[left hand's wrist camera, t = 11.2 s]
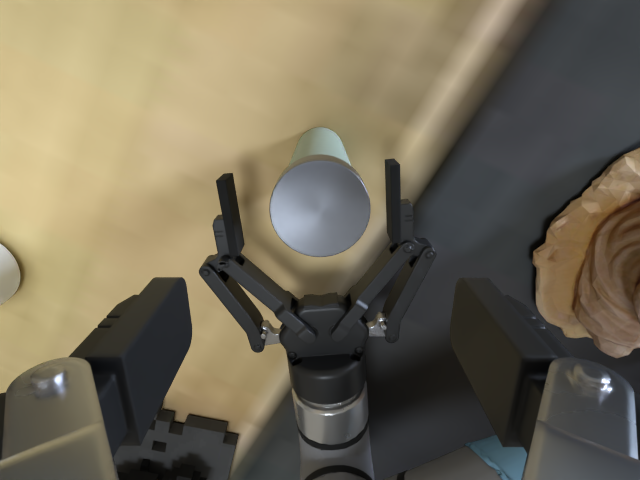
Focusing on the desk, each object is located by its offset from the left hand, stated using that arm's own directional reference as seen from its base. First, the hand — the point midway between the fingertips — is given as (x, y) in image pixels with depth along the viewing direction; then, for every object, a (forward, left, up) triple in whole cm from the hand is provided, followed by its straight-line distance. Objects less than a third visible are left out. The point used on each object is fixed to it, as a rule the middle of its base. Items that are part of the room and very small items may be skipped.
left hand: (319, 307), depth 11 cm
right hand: (+1, 0, -22) cm, 22 cm away
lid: (0, 0, -10) cm, 10 cm away
